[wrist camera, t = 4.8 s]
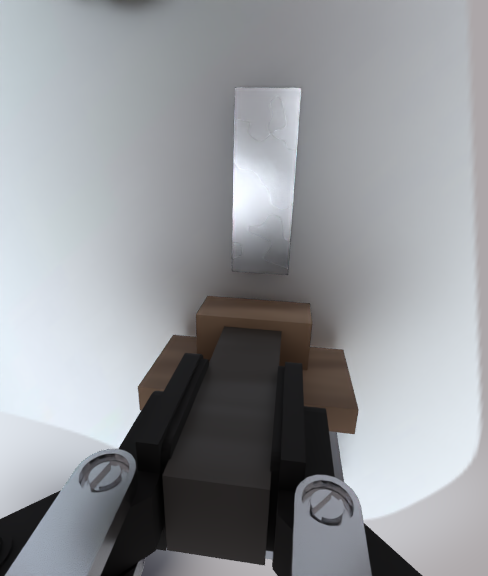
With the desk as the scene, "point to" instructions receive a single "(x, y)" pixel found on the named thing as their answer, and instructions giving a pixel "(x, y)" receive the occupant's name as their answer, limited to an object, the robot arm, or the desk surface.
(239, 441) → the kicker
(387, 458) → the desk surface
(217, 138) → the desk surface
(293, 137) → the rail
